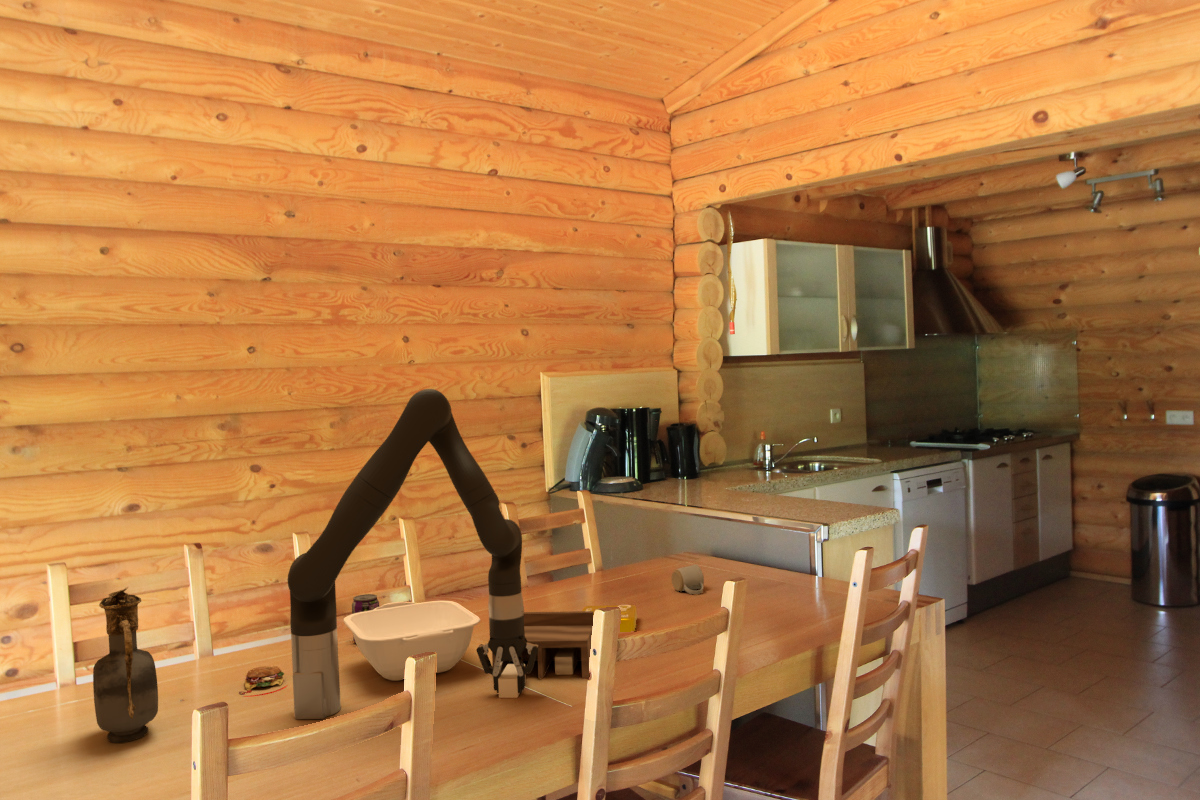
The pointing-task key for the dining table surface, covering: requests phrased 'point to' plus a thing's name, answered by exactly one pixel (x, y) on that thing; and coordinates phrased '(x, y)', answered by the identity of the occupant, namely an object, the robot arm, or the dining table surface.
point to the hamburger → (263, 679)
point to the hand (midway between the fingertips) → (510, 691)
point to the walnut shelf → (558, 640)
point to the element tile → (626, 615)
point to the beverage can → (364, 603)
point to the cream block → (509, 682)
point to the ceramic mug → (688, 579)
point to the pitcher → (124, 674)
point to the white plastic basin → (412, 634)
